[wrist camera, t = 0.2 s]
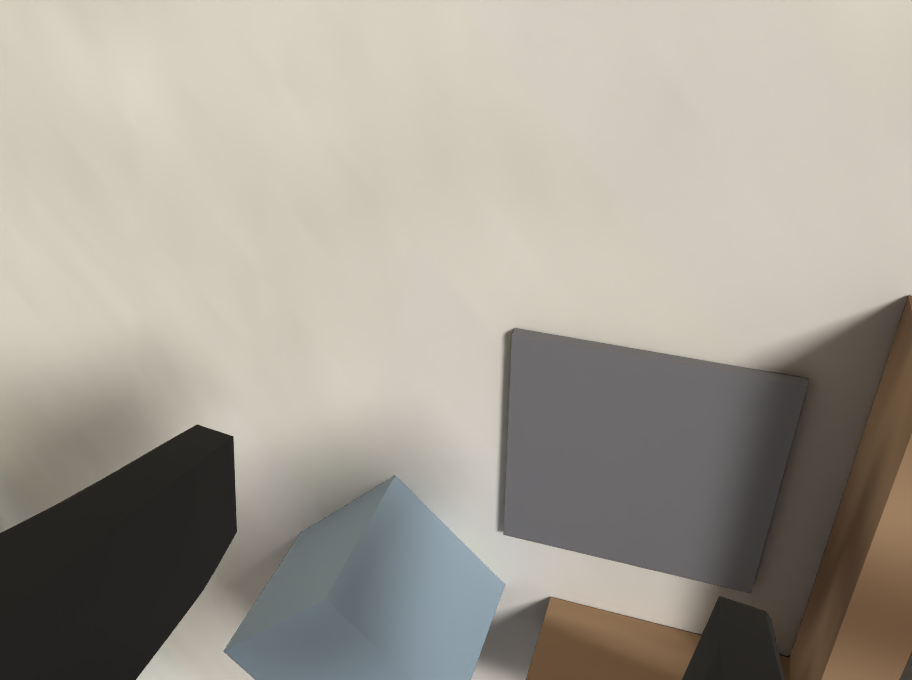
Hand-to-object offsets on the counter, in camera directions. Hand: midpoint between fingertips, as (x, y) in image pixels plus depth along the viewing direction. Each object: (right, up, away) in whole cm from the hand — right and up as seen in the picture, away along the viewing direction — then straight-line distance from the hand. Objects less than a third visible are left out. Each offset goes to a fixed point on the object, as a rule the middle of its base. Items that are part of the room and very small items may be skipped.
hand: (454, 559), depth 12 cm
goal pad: (+5, 0, +11) cm, 12 cm away
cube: (-2, -4, +16) cm, 16 cm away
